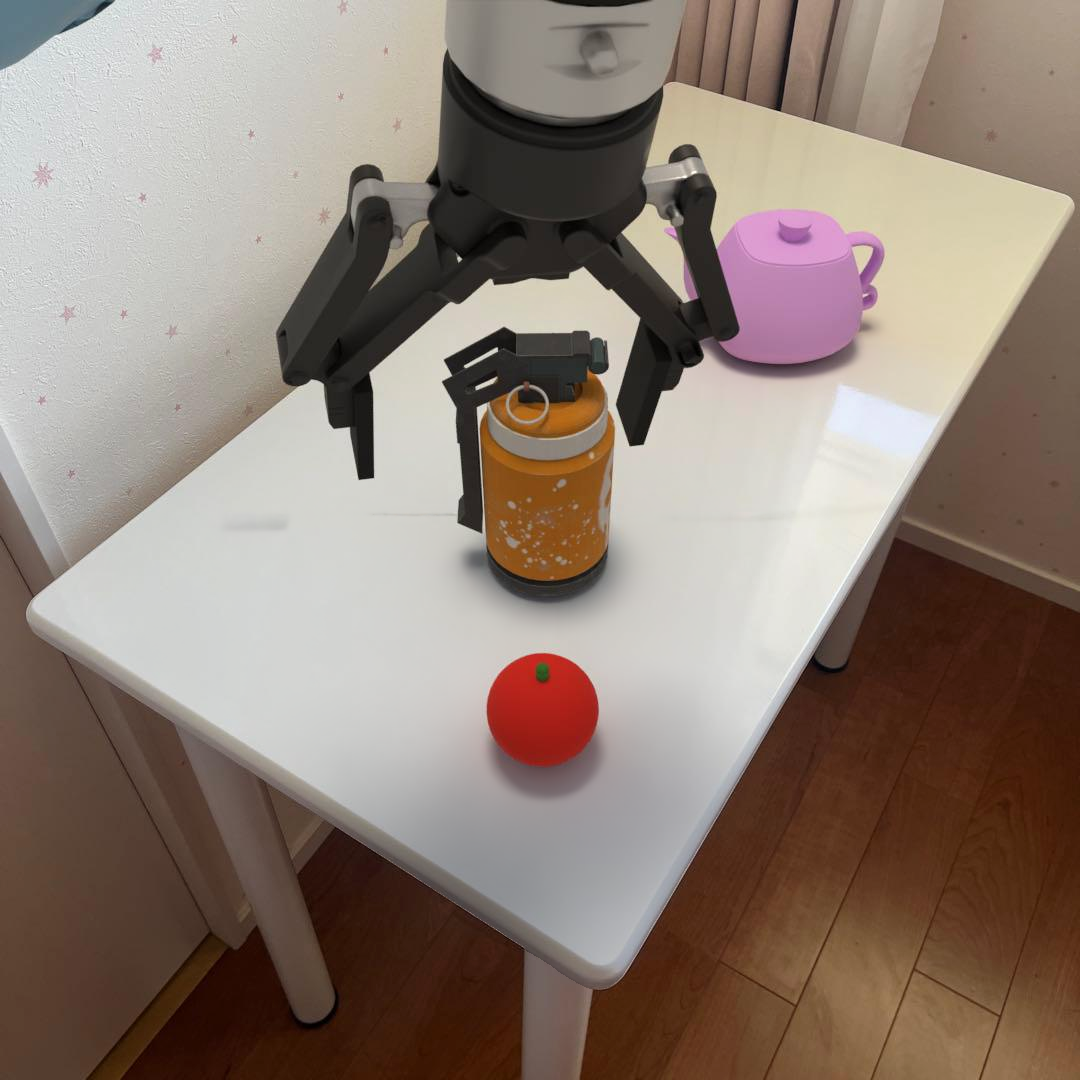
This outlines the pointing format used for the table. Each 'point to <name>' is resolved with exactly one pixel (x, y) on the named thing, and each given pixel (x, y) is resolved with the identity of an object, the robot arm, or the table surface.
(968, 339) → the table surface
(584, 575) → the canister
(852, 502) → the table surface
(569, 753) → the tomato
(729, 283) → the teapot
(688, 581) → the table surface
